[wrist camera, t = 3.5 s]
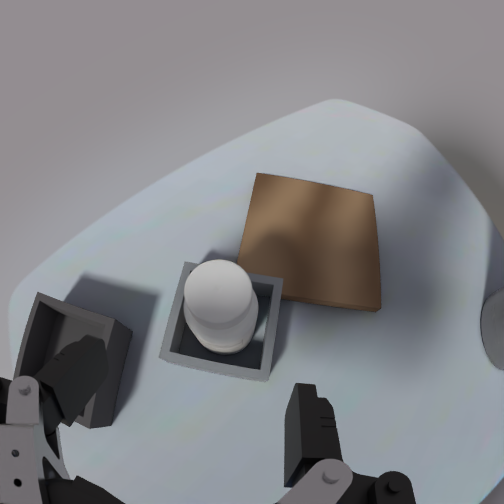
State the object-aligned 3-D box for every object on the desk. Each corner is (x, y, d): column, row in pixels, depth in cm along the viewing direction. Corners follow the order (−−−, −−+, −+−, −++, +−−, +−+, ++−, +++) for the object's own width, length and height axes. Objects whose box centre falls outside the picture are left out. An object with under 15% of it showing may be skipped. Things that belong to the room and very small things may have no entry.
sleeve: (278, 291, 22) (283, 278, 20) (265, 381, 18) (268, 380, 16) (190, 275, 22) (184, 261, 20) (168, 362, 19) (158, 357, 17)
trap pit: (132, 331, 20) (114, 319, 17) (111, 425, 16) (89, 428, 13) (59, 306, 20) (37, 291, 17) (37, 388, 16) (12, 382, 13)
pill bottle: (217, 289, 22) (208, 236, 15) (265, 319, 21) (278, 278, 14) (184, 333, 20) (156, 299, 13) (232, 367, 19) (229, 351, 12)
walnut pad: (369, 201, 27) (372, 195, 26) (375, 311, 21) (381, 308, 20) (256, 179, 28) (256, 172, 27) (232, 290, 22) (231, 285, 21)
